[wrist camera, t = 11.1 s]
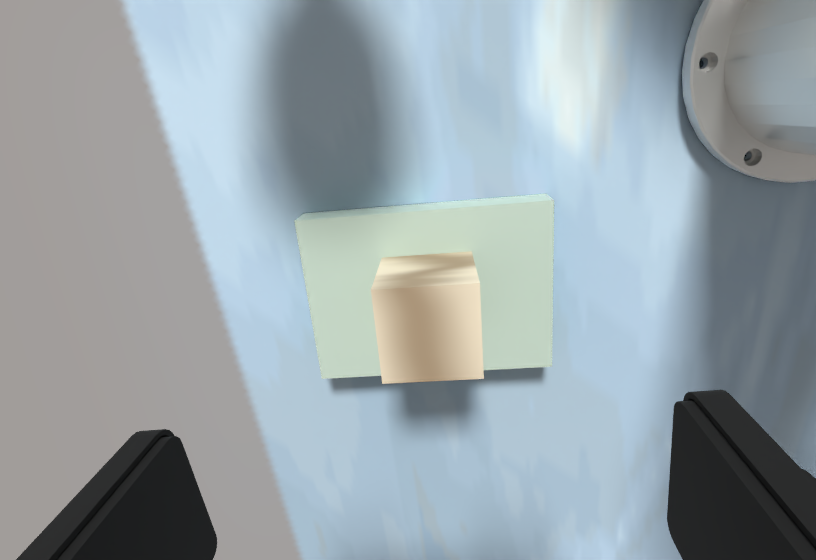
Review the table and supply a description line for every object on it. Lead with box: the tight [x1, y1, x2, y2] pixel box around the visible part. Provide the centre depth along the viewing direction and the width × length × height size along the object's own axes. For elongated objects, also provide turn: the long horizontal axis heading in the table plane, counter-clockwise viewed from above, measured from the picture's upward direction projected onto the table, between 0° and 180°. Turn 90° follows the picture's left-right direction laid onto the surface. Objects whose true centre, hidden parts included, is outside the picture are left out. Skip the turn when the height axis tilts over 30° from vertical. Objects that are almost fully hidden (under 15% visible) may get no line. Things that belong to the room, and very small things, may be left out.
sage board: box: [294, 194, 554, 379], centre depth 28 cm, size 14×10×2 cm
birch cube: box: [371, 251, 484, 384], centre depth 25 cm, size 5×5×5 cm
